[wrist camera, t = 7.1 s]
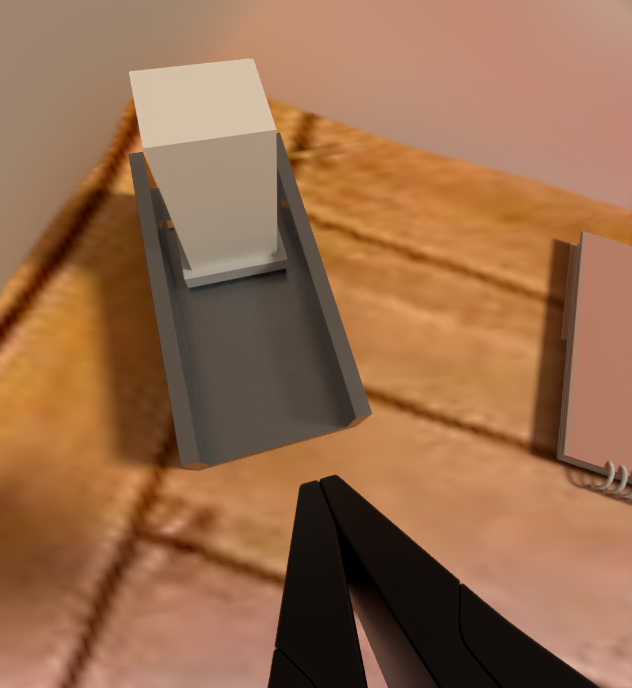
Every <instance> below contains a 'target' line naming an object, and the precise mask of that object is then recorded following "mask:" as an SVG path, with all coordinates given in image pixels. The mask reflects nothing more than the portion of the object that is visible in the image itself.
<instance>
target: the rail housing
mask: <svg viewBox="0 0 632 688" xmlns="http://www.w3.org/2000/svg"><path fill="white" fill-rule="evenodd" d="M276 147H277V226H278V229H279V232H280V236H281V239H282V242H283V246H284V249H285V252H286V256H287V259H288V261H287V268H285V269H280V270H275V271H270V272H266V273H261V274H256V275H251V276H246V277H241V278H236V279H231V280H226V281H221V282H216V283H211V284H206V285H201V286H196V287H191V288H188V286H187V284H186V282H185V279H184V274H183V269H182V264H181V259H180V254H179V249H178V244H177V239H176V234H175V229H174V224H173V222H172V219H171V217H170V214H169V212H168V209H167V207H166V204H165V202H164V199H163V197H162V194H161V192H160V189H159V188H157V186H156V183H155V181H154V179H153V176H152V174H151V171H150V169H149V166H148V164H147V161H146V159H145V156H144V154H143V152H139V153H132V154H129V160H130V166H131V172H132V178H133V184H134V190H135V196H136V202H137V208H138V214H139V219H140V225H141V231H142V237H143V243H144V249H145V255H146V261H147V267H148V273H149V279H150V285H151V290H152V296H153V302H154V308H155V314H156V320H157V326H158V332H159V338H160V344H161V350H162V356H163V362H164V367H165V373H166V379H167V385H168V391H169V397H170V403H171V409H172V415H173V421H174V427H175V433H176V438H177V444H178V450H179V456H180V462H181V467H184V468H188V469H193V470H198V471H199V470H203V469H206V468H210V467H213V466H217V465H220V464H224V463H228V462H231V461H235V460H238V459H242V458H245V457H249V456H252V455H256V454H259V453H263V452H266V451H270V450H274V449H277V448H281V447H284V446H288V445H291V444H295V443H298V442H302V441H305V440H309V439H312V438H316V437H320V436H323V435H327V434H330V433H334V432H337V431H341V430H344V429H348V428H351V427H355V426H357V425H359V424H360V423H361V422H362V421H364V420H365V419H366V418H367V417H369V416H370V415H371V414H372V412H371V409H370V406H369V403H368V400H367V397H366V394H365V391H364V388H363V385H362V382H361V379H360V376H359V372H358V369H357V366H356V363H355V360H354V357H353V354H352V351H351V348H350V345H349V342H348V339H347V336H346V333H345V330H344V327H343V324H342V321H341V318H340V315H339V312H338V308H337V305H336V302H335V299H334V296H333V293H332V290H331V287H330V284H329V281H328V278H327V275H326V272H325V269H324V266H323V263H322V260H321V257H320V254H319V251H318V248H317V245H316V241H315V238H314V235H313V232H312V229H311V226H310V223H309V220H308V217H307V214H306V211H305V208H304V205H303V202H302V199H301V196H300V193H299V190H298V187H297V184H296V181H295V178H294V174H293V171H292V168H291V165H290V162H289V159H288V156H287V153H286V150H285V147H284V144H283V141H282V138H281V135H280V133H276Z"/></svg>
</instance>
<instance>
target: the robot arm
mask: <svg viewBox="0 0 632 688" xmlns="http://www.w3.org/2000/svg"><path fill="white" fill-rule="evenodd" d="M351 600H352V603H353V605H354V607H355V610H356V612H357V614H358V617H359V619H360V622H361V624H362V626H363V629H364V631H365V634H366V636H367V638H368V641H369V643H370V645H371V648H372V650H373V653H374V655H375V657H376V660H377V662H378V664H379V667H380V669H381V672H382V674H383V676H384V679H385V681H386V684H387V686H388V688H600V687H599V686H597V685H596V684H595V683H593V682H592V681H590V680H589V679H588V678H586V677H585V676H583V675H582V674H581V673H579V672H578V671H576V670H575V669H574V668H572V667H571V666H569V665H568V664H566V663H565V662H564V661H562V660H561V659H559V658H558V657H557V656H555V655H554V654H552V653H551V652H550V651H548V650H547V649H545V648H544V647H543V646H541V645H540V644H538V643H537V642H536V641H534V640H533V639H532V638H530V637H529V636H528V635H526V634H525V633H524V632H522V631H521V630H520V629H518V628H517V627H516V626H514V625H513V624H511V623H510V622H509V621H508V620H506V619H505V618H504V617H503V616H501V615H500V614H499V613H498V612H497V611H495V610H494V609H493V608H492V607H490V606H489V605H488V604H487V603H486V602H484V601H483V600H482V599H481V598H480V597H478V596H477V595H476V594H475V593H474V592H473V591H471V590H470V589H469V588H468V587H467V586H466V585H465V584H461V585H460V581H459V579H457V578H456V577H455V576H454V575H453V574H452V573H450V572H449V571H448V570H447V569H446V568H445V567H443V566H442V565H441V564H440V563H439V562H438V561H436V560H435V559H434V558H433V557H432V556H431V555H430V554H428V553H427V552H426V551H425V550H424V549H423V548H421V547H420V546H419V545H418V544H417V543H416V542H414V541H413V540H412V539H411V538H410V537H409V536H407V535H406V534H405V533H404V532H403V531H402V530H401V529H399V528H398V527H397V526H396V525H395V524H394V523H392V522H391V521H390V520H389V519H388V518H387V517H385V516H384V515H383V514H382V513H381V512H380V511H378V510H377V509H376V508H375V507H374V506H373V505H372V504H370V503H369V502H368V501H367V500H366V499H365V498H363V497H362V496H361V495H360V494H359V493H358V492H356V491H355V490H354V489H353V488H352V487H351V486H349V485H348V484H347V483H346V482H345V481H344V480H343V479H341V478H340V477H339V476H337V475H333V476H329V477H325V478H322V479H320V481H319V482H318V481H316V480H315V481H311V482H308V483H304V484H302V485H301V486H300V488H299V494H298V500H297V507H296V513H295V520H294V526H293V532H292V539H291V545H290V551H289V558H288V564H287V571H286V577H285V583H284V590H283V596H282V602H281V609H280V615H279V622H278V628H277V634H276V641H275V650H274V652H273V658H272V665H271V671H270V677H269V682H268V688H368V686H367V681H366V675H365V670H364V665H363V660H362V655H361V650H360V645H359V639H358V634H357V629H356V624H355V619H354V614H353V609H352V603H351Z"/></svg>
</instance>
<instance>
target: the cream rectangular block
mask: <svg viewBox="0 0 632 688" xmlns="http://www.w3.org/2000/svg"><path fill="white" fill-rule="evenodd" d="M129 75H130V80H131V85H132V91H133V96H134V102H135V107H136V113H137V118H138V124H139V129H140V134H141V140H142V145H143V149H144V152H145V154H146V157H147V159H148V162H149V164H150V167H151V169H152V172H153V174H154V177H155V179H156V182H157V184H158V187H159V189H160V192H161V194H162V197H163V199H164V202H165V204H166V207H167V209H168V212H169V214H170V217H171V219H172V222H173V224H174V229H175V234H176V239H177V244H178V249H179V254H180V259H181V264H182V269H183V274H184V279H185V282H186V284H187V286H188V288H191V287H196V286H201V285H206V284H211V283H216V282H221V281H226V280H231V279H236V278H241V277H246V276H251V275H256V274H261V273H266V272H270V271H275V270H280V269H285V268H287V261H288V259H287V256H286V252H285V249H284V246H283V242H282V239H281V236H280V232H279V229H278V226H277V147H276V127H275V124H274V121H273V118H272V115H271V112H270V109H269V106H268V102H267V99H266V96H265V93H264V90H263V87H262V84H261V81H260V78H259V75H258V72H257V69H256V66H255V63H254V59H253V58H252V59H242V60H232V61H223V62H214V63H204V64H195V65H186V66H176V67H167V68H158V69H148V70H138V71H129Z"/></svg>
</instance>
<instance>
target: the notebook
mask: <svg viewBox="0 0 632 688" xmlns="http://www.w3.org/2000/svg"><path fill="white" fill-rule="evenodd" d="M561 339H563V340H566V341H567V350H566V361H565V372H564V383H563V394H562V405H561V417H560V428H559V439H558V450H557V459H558V460H561V461H564V462H567V463H570V464H573V465H576V466H579V467H582V468H585V469H588V470H591V471H594V472H597V473H600V474H603V475H606V476H609V477H608V479H607V481H606V482H605V483H604V484H602V485H601V486H595V485H594V484H589V485H590V486H591V487H592V488H594V489H602V490H603V491H604V492H607V493H612V494H616V495H617V496H619V497H623V498H628V499H629V500H631V501H632V498H631V497H632V490H631V491H630V492H629V493H628V494H624V495H620V494H619V493H618V492H620V491H622V489H623V488H624V487H625V485H626V483H630V484H632V247H631V246H628V245H625V244H622V243H619V242H616V241H613V240H609V239H606V238H603V237H600V236H597V235H594V234H590V233H587V232H584V231H583V232H581V238H580V244H576V243H572V242H570V250H569V261H568V271H567V281H566V292H565V302H564V312H563V323H562V333H561ZM613 478H615V479H618V480H621V483H620V485H619V486H618V487H617V488H616V489H614V490H612V491H609V490H607V489H605V488H607V487H608V486H609V485H610V484H611V483H612V481H613Z"/></svg>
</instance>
